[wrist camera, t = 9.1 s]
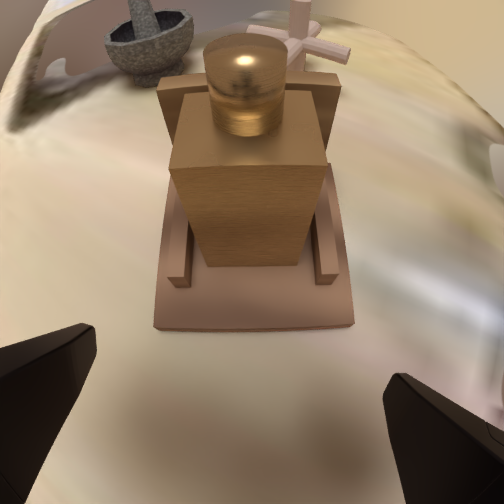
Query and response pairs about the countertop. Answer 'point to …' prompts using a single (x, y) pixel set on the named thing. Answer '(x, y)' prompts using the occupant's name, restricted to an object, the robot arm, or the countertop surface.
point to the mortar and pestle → (150, 42)
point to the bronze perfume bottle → (248, 156)
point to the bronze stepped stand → (254, 278)
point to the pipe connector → (303, 38)
